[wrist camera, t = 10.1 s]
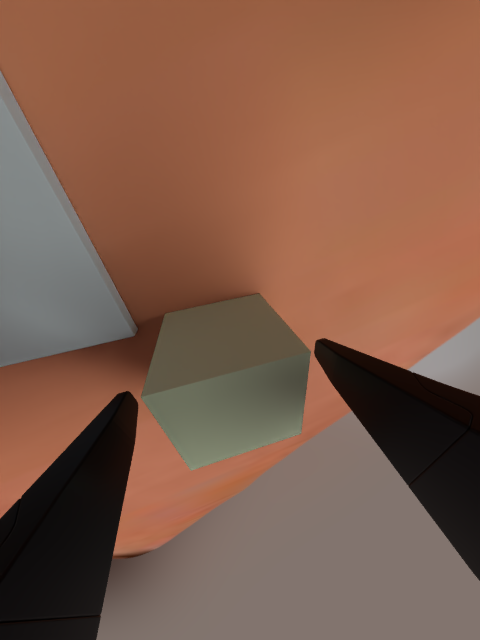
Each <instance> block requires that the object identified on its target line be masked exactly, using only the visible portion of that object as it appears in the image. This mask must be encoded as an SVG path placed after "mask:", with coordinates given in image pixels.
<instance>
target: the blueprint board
mask: <svg viewBox="0 0 480 640" xmlns="http://www.w3.org/2000/svg"><path fill="white" fill-rule="evenodd" d="M137 330H138V329H137V327H136V325H135V323H134V321H133V319H132V317H131V315H130V313H129V312H128V310H127V308H126V306H125V304H124V302H123V300H122V298H121V297H120V295H119V293H118V291H117V289H116V287H115V285H114V283H113V282H112V280H111V278H110V276H109V274H108V272H107V270H106V268H105V266H104V265H103V263H102V261H101V259H100V257H99V255H98V253H97V251H96V250H95V248H94V246H93V244H92V242H91V240H90V238H89V236H88V235H87V233H86V231H85V229H84V227H83V225H82V223H81V221H80V219H79V218H78V216H77V214H76V212H75V210H74V208H73V206H72V204H71V203H70V201H69V199H68V197H67V195H66V193H65V191H64V189H63V188H62V186H61V184H60V182H59V180H58V178H57V176H56V174H55V173H54V171H53V169H52V167H51V165H50V163H49V161H48V159H47V157H46V156H45V154H44V152H43V150H42V148H41V146H40V144H39V142H38V141H37V139H36V137H35V135H34V133H33V131H32V129H31V127H30V126H29V124H28V122H27V120H26V118H25V116H24V114H23V112H22V110H21V109H20V107H19V105H18V103H17V101H16V99H15V97H14V95H13V94H12V92H11V90H10V88H9V86H8V84H7V82H6V80H5V79H4V77H3V75H2V73H1V71H0V367H3V366H7V365H11V364H16V363H20V362H24V361H29V360H33V359H37V358H42V357H46V356H50V355H55V354H59V353H63V352H68V351H72V350H76V349H81V348H85V347H89V346H94V345H98V344H102V343H107V342H111V341H115V340H120V339H124V338H128V337H133V336H135V334H136V332H137Z"/></svg>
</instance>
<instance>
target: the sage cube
mask: <svg viewBox="0 0 480 640" xmlns="http://www.w3.org/2000/svg"><path fill="white" fill-rule="evenodd" d="M310 354H311V351H310V350H309V349H308V348H307V346H306V345H305V344H304V343H303V342H302V341H301V340H300V339H299V337H298V336H297V335H296V334H295V333H294V332H293V331H292V330H291V329H290V327H289V326H288V325H287V324H286V323H285V322H284V321H283V320H282V318H281V317H280V316H279V315H278V314H277V313H276V312H275V311H274V309H273V308H272V307H271V306H270V305H269V304H268V303H267V302H266V300H265V299H264V298H263V297H262V296H261V295H260V294H259V293H258V294H254V295H249V296H244V297H240V298H235V299H230V300H226V301H221V302H216V303H212V304H207V305H202V306H197V307H193V308H188V309H183V310H179V311H174V312H169V313H165V315H164V319H163V322H162V326H161V329H160V333H159V336H158V339H157V343H156V346H155V350H154V353H153V357H152V360H151V364H150V367H149V371H148V374H147V378H146V381H145V384H144V388H143V391H142V395H141V398H142V400H143V401H144V403H145V404H146V406H147V407H148V408H149V410H150V411H151V413H152V414H153V416H154V417H155V419H156V420H157V422H158V423H159V425H160V426H161V428H162V429H163V430H164V432H165V433H166V435H167V436H168V438H169V439H170V441H171V442H172V444H173V445H174V447H175V448H176V450H177V451H178V453H179V454H180V455H181V457H182V458H183V460H184V461H185V463H186V464H187V466H188V467H189V469H190V470H194V469H197V468H200V467H203V466H206V465H209V464H212V463H215V462H218V461H221V460H224V459H227V458H230V457H233V456H236V455H239V454H242V453H245V452H248V451H251V450H254V449H257V448H260V447H263V446H266V445H269V444H272V443H275V442H278V441H281V440H284V439H287V438H290V437H293V436H296V435H299V434H301V430H302V421H303V413H304V405H305V396H306V388H307V379H308V371H309V363H310Z"/></svg>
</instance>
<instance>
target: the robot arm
mask: <svg viewBox="0 0 480 640" xmlns="http://www.w3.org/2000/svg"><path fill="white" fill-rule="evenodd" d="M314 354H315V357H316V358H317V360H318V362H319V363H320V365H321V367H322V368H323V370H324V372H325V373H326V375H327V377H328V378H329V380H330V382H331V383H332V384H333V386H334V387H335V389H336V390H337V391H338V393H339V394H340V395H341V397H342V398H343V399H344V401H345V402H346V403H347V405H348V406H349V407H350V409H351V410H352V411H353V413H354V414H355V415H356V417H357V418H358V419H359V421H360V422H361V423H362V425H363V426H364V427H365V429H366V430H367V431H368V433H369V434H370V435H371V437H372V438H373V439H374V441H375V442H376V443H377V445H378V446H379V447H380V449H381V450H382V451H383V453H384V454H385V455H386V457H387V458H388V459H389V461H390V462H391V463H392V465H393V466H394V467H395V469H396V470H397V471H398V473H399V474H400V476H401V477H402V478H403V480H404V481H405V482H406V483H407V485H408V486H409V488H410V489H411V490H412V492H413V493H414V494H415V496H416V497H417V498H418V500H419V501H420V502H421V504H422V505H423V506H424V508H425V509H426V511H427V512H428V513H429V514H430V516H431V517H432V519H433V520H434V521H435V522H436V524H437V525H438V526H439V528H440V529H441V531H442V532H443V533H444V535H445V536H446V537H447V538H448V540H449V541H450V543H451V544H452V545H453V547H454V548H455V549H456V551H457V552H458V553H459V555H460V556H461V557H462V559H463V560H464V561H465V563H466V564H467V565H468V567H469V568H470V569H471V570H472V572H473V573H474V574H475V576H476V577H477V578H478V579H479V580H480V396H478V395H475V394H472V393H469V392H466V391H463V390H460V389H457V388H454V387H452V386H449V385H446V384H443V383H440V382H437V381H435V380H432V379H429V378H427V377H424V376H421V375H419V374H416V373H412V372H411V371H408V370H406V369H403V368H401V367H398V366H395V365H393V364H390V363H388V362H385V361H382V360H380V359H377V358H375V357H372V356H369V355H367V354H364V353H362V352H359V351H356V350H354V349H351V348H349V347H346V346H343V345H341V344H338V343H336V342H333V341H330V340H328V339H325V338H323V339H319V340H316V342H315V350H314ZM137 416H138V402H137V401H136V399H135V398H134V397H133V395H132V394H131V392H129V391H126V392H122V393H119V394H117V395H116V396H115V397H114V398H113V400H112V401H111V402H110V403H109V404H108V405H107V406H106V407H105V408H104V409H103V410H102V411H101V412H100V413H99V414H98V415H97V417H96V418H95V419H94V420H93V421H92V422H91V423H90V424H89V425H88V426H87V427H86V428H85V429H84V430H83V431H82V432H81V434H80V435H79V436H78V437H77V438H76V439H75V440H74V441H73V442H72V443H71V444H70V445H69V446H68V447H67V448H66V450H65V451H64V452H63V453H62V454H61V455H60V456H59V457H58V458H57V459H56V460H55V461H54V462H53V463H52V464H51V465H50V467H49V468H48V469H47V470H46V471H45V472H44V473H43V474H42V475H41V476H40V477H39V478H38V479H37V480H36V481H35V482H34V484H33V485H32V486H31V487H30V488H29V489H28V490H27V491H26V492H25V493H24V494H23V495H22V497H21V499H19V500H17V502H16V503H15V504H14V505H13V506H12V507H11V508H10V509H9V510H8V511H7V512H6V513H5V514H4V515H3V516H2V517H1V519H0V640H96V638H97V633H98V628H99V623H100V617H101V616H100V614H101V612H102V607H103V602H104V597H105V592H106V587H107V582H108V577H109V571H110V566H111V561H112V556H113V551H114V546H115V541H116V536H117V531H118V526H119V521H120V516H121V511H122V506H123V501H124V496H125V491H126V486H127V481H128V476H129V471H130V466H131V461H132V456H133V451H134V445H135V438H136V427H137Z"/></svg>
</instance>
